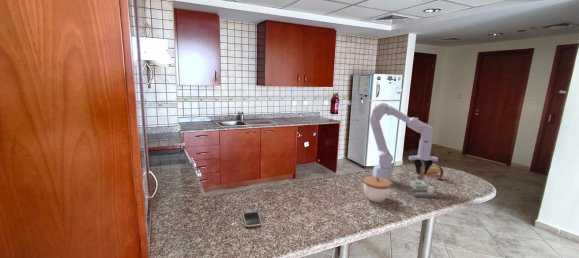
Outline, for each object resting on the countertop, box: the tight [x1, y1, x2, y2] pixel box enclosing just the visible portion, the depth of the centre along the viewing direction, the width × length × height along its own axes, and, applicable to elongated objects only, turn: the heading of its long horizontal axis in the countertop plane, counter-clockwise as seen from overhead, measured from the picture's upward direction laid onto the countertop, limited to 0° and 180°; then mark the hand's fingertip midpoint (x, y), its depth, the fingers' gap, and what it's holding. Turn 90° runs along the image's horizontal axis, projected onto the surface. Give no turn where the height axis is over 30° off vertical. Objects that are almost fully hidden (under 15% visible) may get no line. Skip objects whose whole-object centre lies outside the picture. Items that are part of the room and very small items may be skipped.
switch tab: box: [427, 185, 435, 193], centre depth 135 cm, size 2×3×3 cm, turn 1°
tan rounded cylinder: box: [417, 163, 426, 181], centre depth 142 cm, size 3×3×8 cm
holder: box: [410, 180, 429, 189], centre depth 144 cm, size 6×6×3 cm
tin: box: [421, 161, 444, 180], centre depth 162 cm, size 15×3×8 cm, turn 25°
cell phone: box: [242, 211, 262, 228], centre depth 107 cm, size 6×11×1 cm, turn 16°
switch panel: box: [407, 188, 439, 199], centre depth 136 cm, size 12×7×2 cm, turn 91°
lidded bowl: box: [363, 175, 392, 203], centre depth 129 cm, size 13×13×11 cm
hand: (421, 173), depth 142 cm, fingers closed on tan rounded cylinder, 3 cm apart
